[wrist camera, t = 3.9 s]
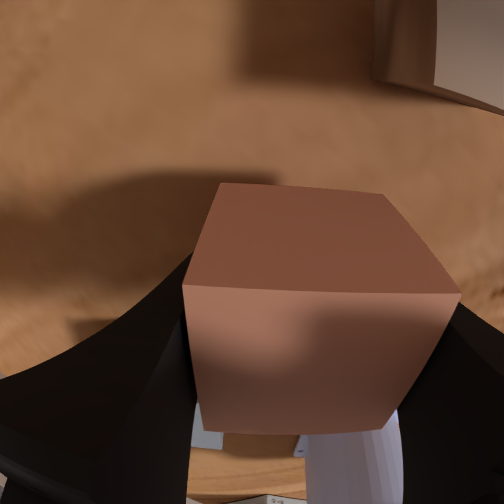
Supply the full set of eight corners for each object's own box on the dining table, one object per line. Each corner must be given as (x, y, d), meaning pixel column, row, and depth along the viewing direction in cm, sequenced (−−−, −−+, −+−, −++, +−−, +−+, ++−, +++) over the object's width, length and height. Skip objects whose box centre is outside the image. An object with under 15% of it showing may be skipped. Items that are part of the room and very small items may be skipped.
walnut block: (472, 106, 10) (551, 133, 6) (370, 79, 10) (433, 85, 6) (476, 6, 7) (553, -3, 3) (373, -32, 7) (429, -77, 3)
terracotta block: (352, 316, 12) (381, 429, 7) (222, 312, 12) (203, 430, 7) (383, 194, 9) (462, 293, 5) (220, 182, 9) (182, 284, 5)
